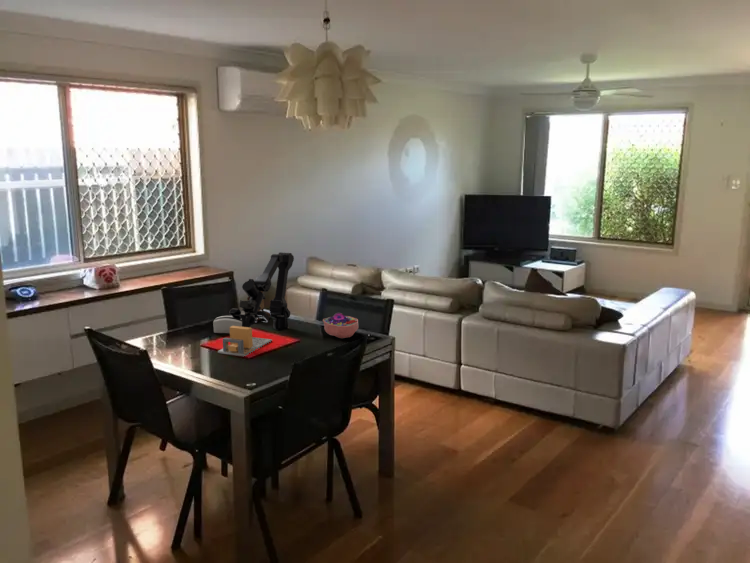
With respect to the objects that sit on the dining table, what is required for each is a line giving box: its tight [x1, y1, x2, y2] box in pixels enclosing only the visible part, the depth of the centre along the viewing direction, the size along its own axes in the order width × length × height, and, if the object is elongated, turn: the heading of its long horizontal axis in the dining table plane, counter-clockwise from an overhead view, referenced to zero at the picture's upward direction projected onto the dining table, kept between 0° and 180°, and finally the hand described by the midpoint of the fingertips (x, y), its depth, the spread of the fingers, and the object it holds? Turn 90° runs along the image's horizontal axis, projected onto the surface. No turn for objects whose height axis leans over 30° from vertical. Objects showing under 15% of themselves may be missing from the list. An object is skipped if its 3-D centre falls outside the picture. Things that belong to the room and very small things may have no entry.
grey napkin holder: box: [212, 315, 242, 334], centre depth 321 cm, size 17×5×10 cm, turn 81°
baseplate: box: [217, 336, 273, 357], centre depth 298 cm, size 24×14×7 cm, turn 159°
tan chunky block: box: [228, 326, 253, 352], centre depth 291 cm, size 9×10×9 cm
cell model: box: [322, 312, 359, 339], centre depth 312 cm, size 17×20×11 cm
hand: (242, 330), depth 295 cm, fingers closed
